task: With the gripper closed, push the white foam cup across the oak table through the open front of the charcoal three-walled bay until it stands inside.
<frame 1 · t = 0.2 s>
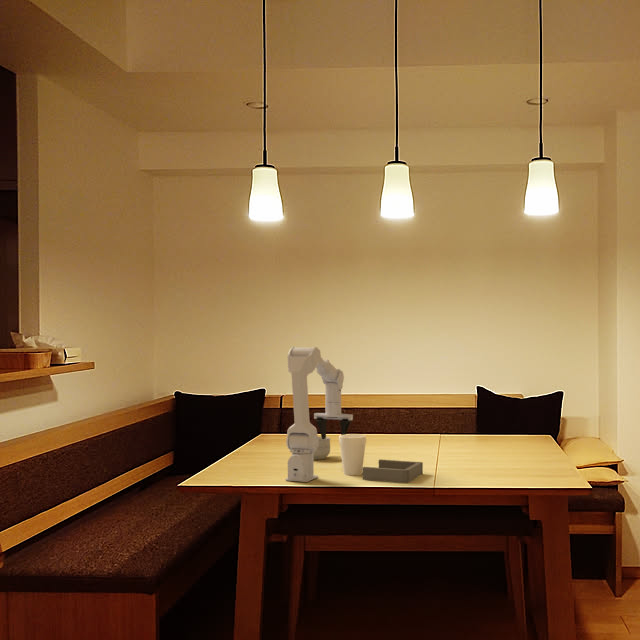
hand: (333, 439, 299), 10 cm above the table, fingers open, 7 cm apart
teacup: (318, 458, 318), on the table
bay: (391, 476, 279), on the table
foam cup: (352, 474, 285), on the table
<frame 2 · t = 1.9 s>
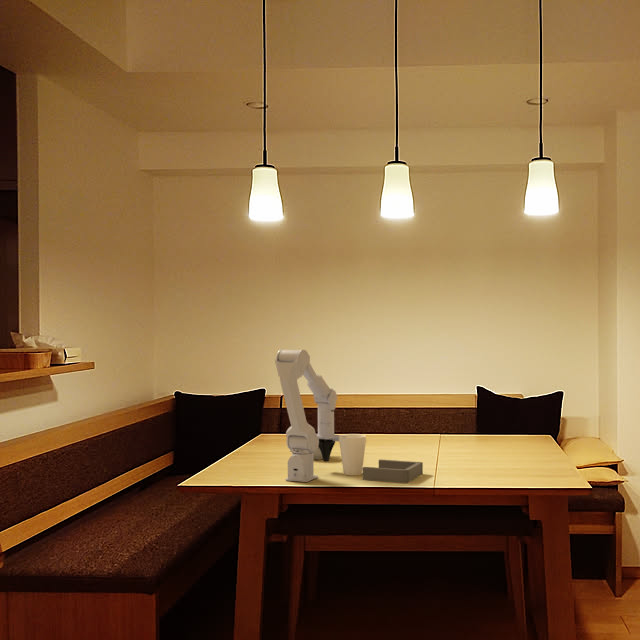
hand: (326, 461, 289), 4 cm above the table, fingers closed
nothing on the table moved.
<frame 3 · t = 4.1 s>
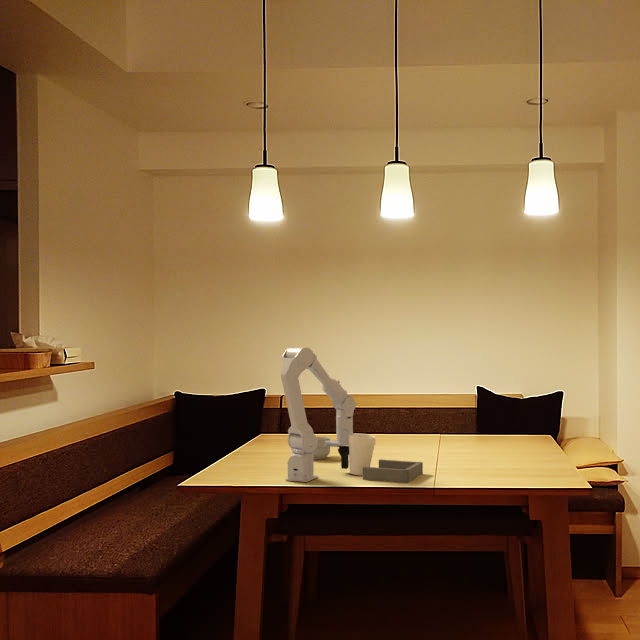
hand: (345, 468, 287), 2 cm above the table, fingers closed, pressing on foam cup
foam cup: (359, 473, 284), on the table, touching gripper
everything else where it was.
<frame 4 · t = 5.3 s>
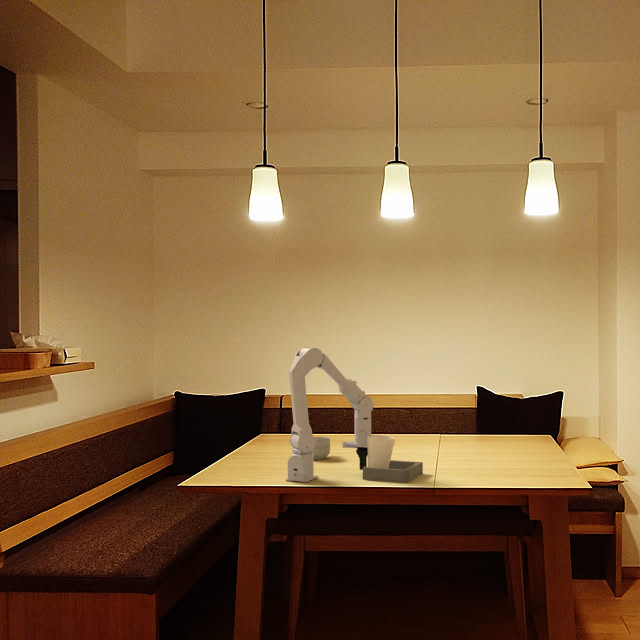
hand: (363, 469, 284), 2 cm above the table, fingers closed, pressing on foam cup
foam cup: (377, 475, 281), on the table, touching gripper
everything else where it was.
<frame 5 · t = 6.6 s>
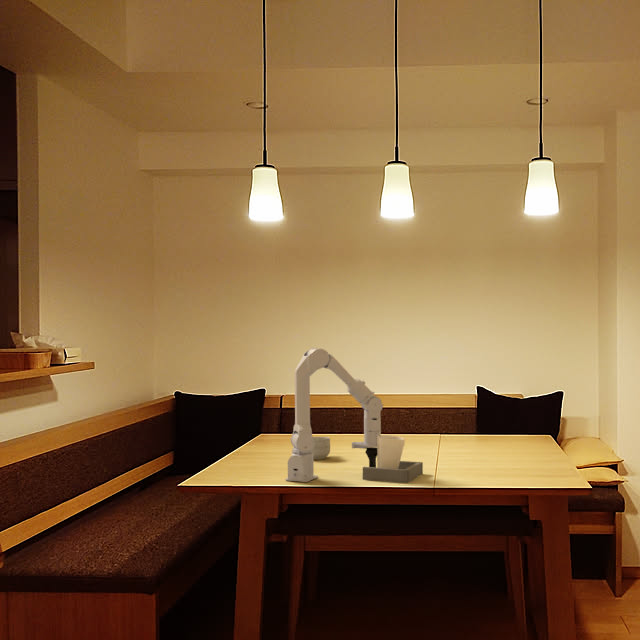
hand: (372, 470, 282), 2 cm above the table, fingers closed, pressing on foam cup
foam cup: (386, 475, 280), on the table, touching gripper
everything else where it was.
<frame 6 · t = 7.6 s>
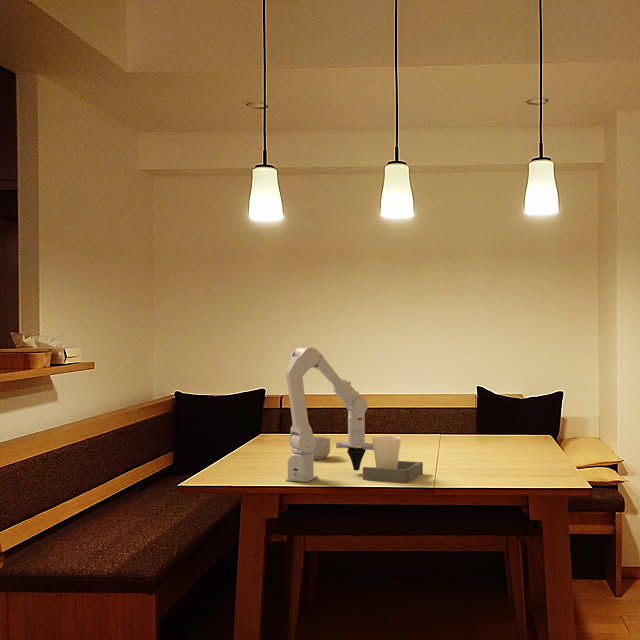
hand: (356, 469, 284), 1 cm above the table, fingers closed
foam cup: (386, 476, 280), on the table
everything else where it was.
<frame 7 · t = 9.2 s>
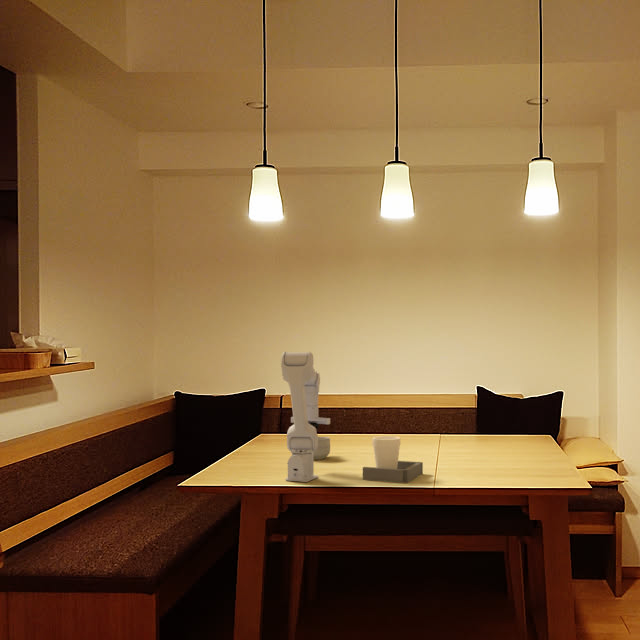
hand: (310, 443, 292), 9 cm above the table, fingers closed
nothing on the table moved.
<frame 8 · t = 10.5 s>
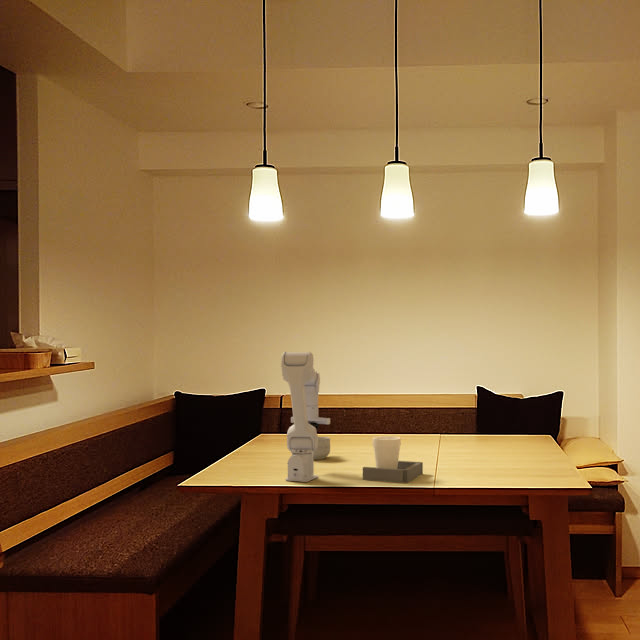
hand: (310, 443, 292), 9 cm above the table, fingers closed
nothing on the table moved.
at the end: foam cup inside the target area (2.3 cm from its centre), on the table; foam cup tilted 0° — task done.
